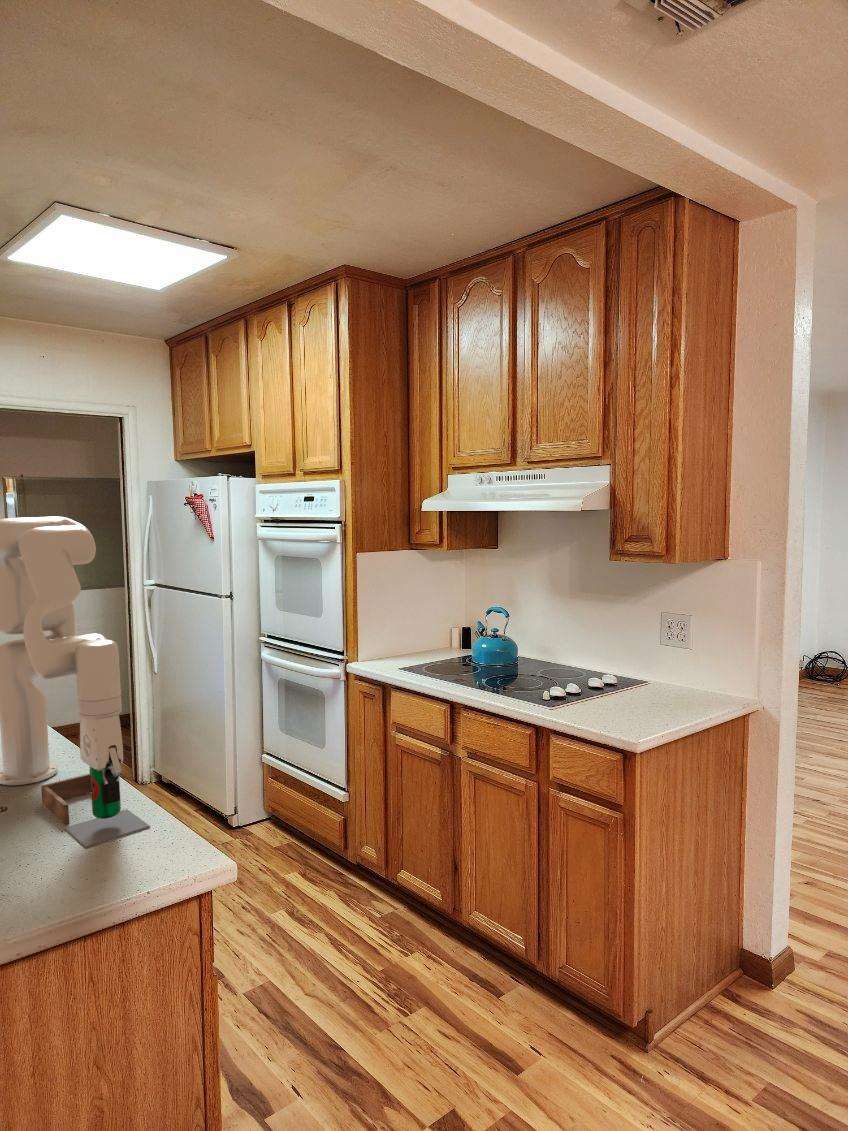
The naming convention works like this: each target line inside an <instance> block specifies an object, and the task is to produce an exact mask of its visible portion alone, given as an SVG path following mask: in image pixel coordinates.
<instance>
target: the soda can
mask: <svg viewBox="0 0 848 1131" xmlns="http://www.w3.org/2000/svg"><path fill="white" fill-rule="evenodd" d="M108 766H111V764H110V763H107V764H106V766H105V767H108ZM109 772H111V769H110V770H106V773H107V775H108V773H109ZM89 773H90V779H91V793H90V795H91V809H92V810H91V812H92V813H91V814H92V816H94V817H95V818H100V819H106V818H111V817H114V816H116V815H117V814H118V813H119V812H120V811H122V802H121V800H122V799H120V800H119V801H117V802H114V803H110V804H107V805H103V804H102V795H101V784H103V780H102V774H101V770H100V771H97V770H95V769H94V768H92V767H90V766H89ZM120 783H121V782H120V780H119V789H120V790H121V787H120V786H121V784H120Z"/></svg>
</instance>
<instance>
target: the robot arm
mask: <svg viewBox="0 0 848 1131" xmlns="http://www.w3.org/2000/svg"><path fill="white" fill-rule="evenodd" d="M96 551H97V549H96V542H95V538H94V537H93V535H92V533H91V531H90V530H89V529H88V528H87V527H86V526H85V525H83V524H82V523H80V522H78V521H75V520H73V519H71V518H68V517H64V516H39V517H38V516H37V517H35V516H34V517H33V516H32V517H27V516H26V517H8V518H0V632H1V633H3V634H4V635H14V636H15V635H16V636H17V635H23V638H22V639H21V638H20V639H13V640H9V641H5V642H3V643H0V741H1V742H0V743H1V744H0V745H1V758H2V770H0V785H3V786H23V785H29V784H34V783H39V782H43V781H44V780H47V779H50V778H51V777H53V776H55V775H56V774H57V773H58V771H59V769H58V768H59V767H58V765H57V763H54V762H51V760H50V759H51V758H50V747H49V746H50V745H49V743H50V742H49V729H48V714H47V703H46V702H47V701H46V697H45V694H44V693H43V692H42V691H41V689H39V688H38V687H37V686H35V685H34V683H33V681H35V680H36V681H37V680H40V679H45V680H53V679H59V678H66V677H69V676H76V687H77V688H76V689H77V690H76V692H77V705H78V717H79V718H80V720H79V755H80V756H79V757H80V759H81V761H82V762H83V763H84V764H86V765H88V767H89V768H90V767H92V768H94V769H95V770H97V771H100V770H101V774H102V780H103V784H101V795H102V804H103V805H107V804H110V803H114V802H117V801H119V800H121V788H120V789H119V781H120V780H121V779H120V775H121V773H122V767H121V765H122V764H123V762H124V746H123V737H122V728H121V720H120V713H122V711H123V710H122V709H123V707H122V690H121V689H122V688H121V687H122V686H121V674H120V672H121V670H120V653H119V646H118V644H117V642H116V641H114V640H111V639H108V638H107V637H106V636H104V635H103V634H100V633H87V634H79V635H76V625H75V608H74V603H73V602H74V601H75V600H76V599H77V598H78V597H79V596H80V595H81V594H80V593H81V589H82V587H81V583H80V581H79V578H78V575H77V573H76V570H75V568H74V566H76V565H77V566H78V565H79V566H80V565H86V564H89V563H91V562H92V561H93V560H94V559H95V558H96V557H95V556H96ZM46 631H47V632H48V631H49V635H45V632H46ZM107 763H110V764H111V766H108V767H105V766H106V764H107ZM110 769H111V772H109V773H108V775H107V773H106V770H110ZM54 774H55V775H54ZM90 780H91V779H90Z"/></svg>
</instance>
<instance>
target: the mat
mask: <svg viewBox="0 0 848 1131" xmlns="http://www.w3.org/2000/svg"><path fill="white" fill-rule="evenodd" d="M150 828H151V825H150V824H148V823H147V822H145V821H144V820H143V819H142V818H140V817H139V816H137V815H136V814H134V813H133V812H132V811H131V810H129V809H128V808H125V809H121V810H120V812H119V813H118V814H117V815H116V816H114V817H111V818H106V819H100V818H96V817H95V818H92V819H88V820H86V821H82V822H79V823H75V824H73V825H69V826H65V827H64V830H65V831H66V832H67V833H68V834H69V835H70V836H72V838H74V839H75V840H76V841H77V840H78V841H79V842H80V843H81V844H80V843H79V842H78V841H77V842H78V843H79V844H80V845H81V846H82V847H84V849H88V848H91V847H95V846H97V845H100V843H101V844H103V842H104V843H107V842H109V840H110V841H112V839H113V840H116V839H119V838H122V837H125V835H126V836H128V835H131V834H134V833H137V832H141V831H144V830H147V829H150ZM115 838H116V839H115Z"/></svg>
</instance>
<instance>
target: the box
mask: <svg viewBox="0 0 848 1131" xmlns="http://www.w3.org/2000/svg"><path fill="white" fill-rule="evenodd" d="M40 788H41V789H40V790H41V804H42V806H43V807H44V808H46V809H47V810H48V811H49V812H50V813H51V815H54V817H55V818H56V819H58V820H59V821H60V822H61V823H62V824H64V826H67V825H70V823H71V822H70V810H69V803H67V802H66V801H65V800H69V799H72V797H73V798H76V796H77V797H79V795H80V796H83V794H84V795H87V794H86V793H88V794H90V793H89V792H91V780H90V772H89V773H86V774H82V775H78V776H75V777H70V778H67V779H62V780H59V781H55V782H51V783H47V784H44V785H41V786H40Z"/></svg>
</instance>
